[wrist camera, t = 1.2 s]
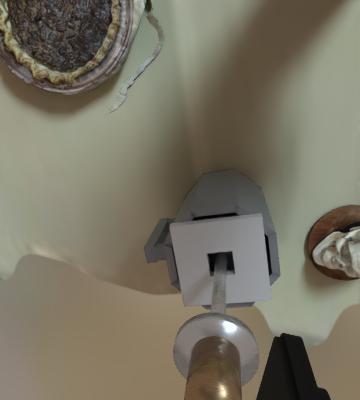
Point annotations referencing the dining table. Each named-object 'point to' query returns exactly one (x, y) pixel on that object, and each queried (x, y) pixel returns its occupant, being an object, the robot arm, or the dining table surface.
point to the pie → (71, 42)
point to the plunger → (216, 342)
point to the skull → (337, 243)
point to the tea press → (219, 241)
